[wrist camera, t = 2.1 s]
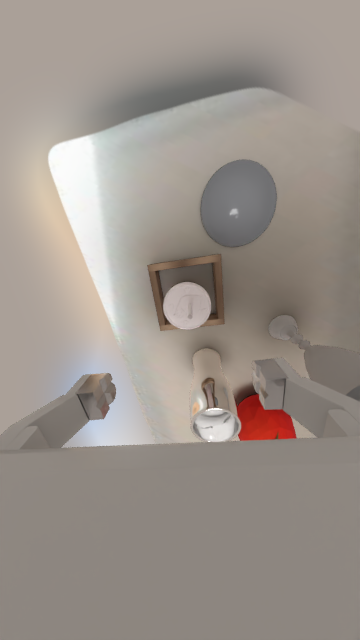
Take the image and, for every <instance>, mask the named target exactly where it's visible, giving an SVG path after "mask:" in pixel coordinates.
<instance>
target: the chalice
mask: <svg viewBox="0 0 360 640" xmlns="http://www.w3.org/2000/svg"><path fill="white" fill-rule="evenodd" d="M268 328H269V333H270V335H271V336H272V337H274V338H276V339H281V340H290V339H291V341H292V343H294V344H299V348H300V349H304V350H306V351H305V353H304V359H305V365H306V369H307V372H308V374H309V377H310V379H311V380H312V381H314V382H317V383H319V384H321V385H323V386H326V387H328V388H330V389H332V390H335V391H337V392H339V393H341V394H344V395H346V396H348V397H350V398H353V399H355V400H357V401H359V402H360V354H359V353H356V352H354V351H350V350H346V349H342V348H338V347H330V346H322V345H313V346H311V345H310V342H309V341H307V340H303V336H302V335H299V334H297V332H298V327H297V324H296V321H295V319H294V318H293V317H291V316H289V315H280V316H278V317H276V318H275V319H273V320H272V321H271V323H270V325H269V327H268ZM296 334H297V335H296Z"/></svg>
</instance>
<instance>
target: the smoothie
mask: <svg viewBox="0 0 360 640" xmlns="http://www.w3.org/2000/svg"><path fill="white" fill-rule="evenodd" d="M163 310H164V314H165V316H166V318H167V320H168V321H169V322H170V323H171V324H172V325H174V326H175V327H177V328H180V329H186V330H189V329H194V328H197V327H199V326H201V325H202V324H204V323H205V322H206V320H207V319H208V317H209V315H210V312H211V301H210V297H209V295H208V293H207V292H206V290H205V289H204V288H203V287H201V286H200V285H198V284H196V283H191V282H182V283H179V284H176V285H175V286H173V287H172V288H171V289H170V290H169V291H168V292H167V294H166V296H165V299H164V303H163Z"/></svg>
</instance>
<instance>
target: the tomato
mask: <svg viewBox="0 0 360 640" xmlns="http://www.w3.org/2000/svg"><path fill="white" fill-rule="evenodd" d="M237 408H238V413H239V418H240V422H241V430H240V432H239V434H238V436H239V439H240V441H248V440H272V439H297V438H296V434H295V430H294V426H293V422H292V419H291V417H290V415H289V414H287V413H286V412H285V411H284V410H283V409H272V410H264V408H263V405H262V403H261V401H260V399H259V394H258V395H252V396H249V397H247V398H245V399H244V400H243V401H242V402H241V403H239V405H238V407H237Z"/></svg>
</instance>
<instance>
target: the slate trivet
mask: <svg viewBox="0 0 360 640" xmlns="http://www.w3.org/2000/svg"><path fill="white" fill-rule="evenodd" d="M276 200H277V194H276V187H275V183H274V181H273V178H272V176H271V175H270V173H269V172H268V171H267V169H266V168H264V167H263V166H262V165H260V164H259V163H257V162H254V161H251V160H236V161H233V162H230V163H228V164H226V165H225V166H223V167H221V168H220V169H219V170H218V171H217V172H216V173H215V174H214V175H213V176H212V178H211V179H210V180H209V182H208V184H207V186H206V188H205V190H204V193H203V196H202V201H201V219H202V223H203V226H204V228H205V230H206V232H207V233H208V235H209V236H210V237H211V238H212V239H213V240H214V241H216V242H217V243H219V244H221V245H224V246H228V247H237V246H242V245H245V244H248V243H250V242H252V241H254V240H255V239H256V238H258V237H259V236H260V235H261V234H262V233H263V232H264V231H265V229H266V228H267V227H268V225H269V223H270V222H271V220H272V217H273V215H274V212H275V208H276Z"/></svg>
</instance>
